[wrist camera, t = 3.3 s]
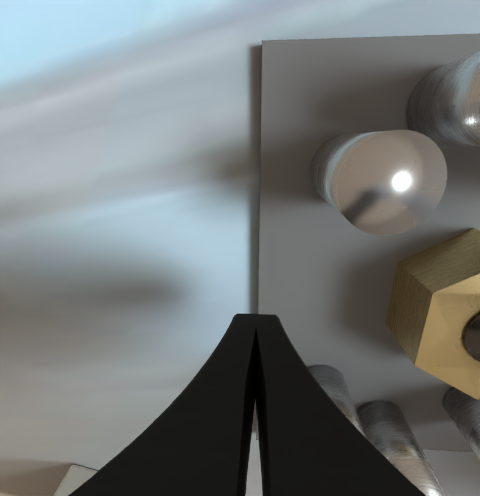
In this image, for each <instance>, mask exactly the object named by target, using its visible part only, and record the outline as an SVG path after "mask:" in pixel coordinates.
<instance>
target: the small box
mask: <svg viewBox="0 0 480 496" xmlns="http://www.w3.org/2000/svg"><path fill="white" fill-rule="evenodd" d="M97 472H98V471H96V470H93V469H89V468H86V467H82V466H78V465H71V466H70V468H69V469H68V471H67V473H66V475H65V476H64V478H63V480H62V481H61V483H60V485H59V486H58V488H57V490H56V491H55V493H54V495H53V496H68V495H69V494H71V493H72V492H73V491H75V490H76V489H77V488H78V487H80V486H81V485H82V484H83V483H85V482H86V481H87V480H88V479H90V478H91V477H92V476H93V475H94V474H95V473H97Z"/></svg>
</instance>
